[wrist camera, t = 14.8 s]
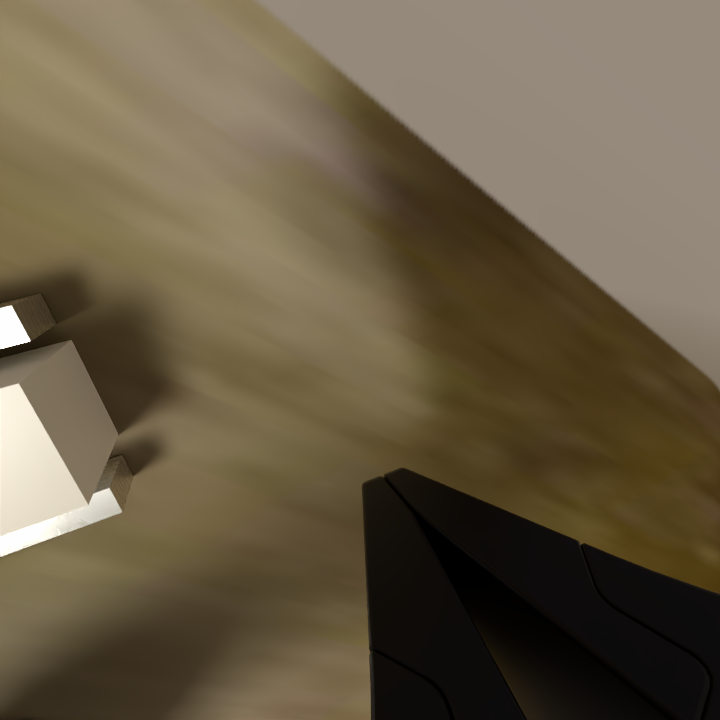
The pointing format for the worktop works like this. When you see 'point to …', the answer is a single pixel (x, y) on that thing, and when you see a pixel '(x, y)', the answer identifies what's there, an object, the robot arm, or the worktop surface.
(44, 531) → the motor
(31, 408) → the white block
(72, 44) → the worktop surface
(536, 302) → the worktop surface
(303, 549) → the worktop surface
